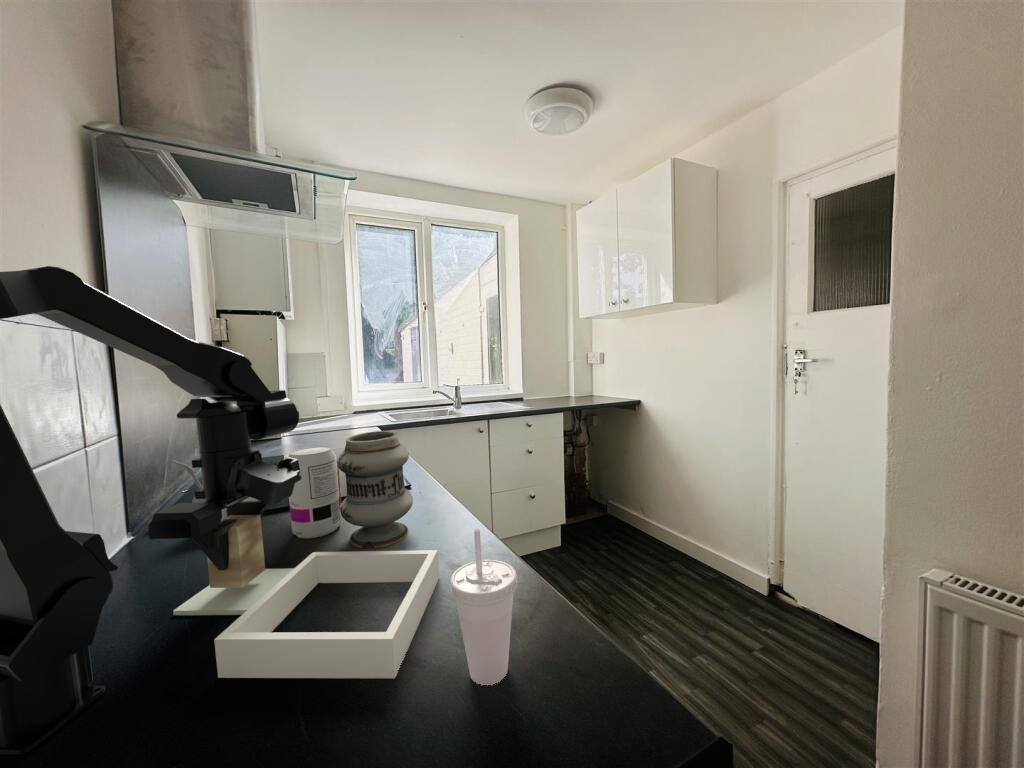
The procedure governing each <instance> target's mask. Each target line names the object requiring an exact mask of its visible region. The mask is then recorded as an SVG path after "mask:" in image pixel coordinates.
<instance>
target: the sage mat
mask: <svg viewBox="0 0 1024 768" xmlns="http://www.w3.org/2000/svg"><path fill="white" fill-rule="evenodd" d="M295 568H296V567H293V568H290V567H289V568H265V570H264V571H263V572H262V573H261V574H259V575H258V576H257V577H255V578H254V579H253V580H252V581H250V582H249V583H248V584H247V585H245V586H244V587H243V588H210V584H209V585H208V586H206V587H204V588H203V589H201V590H200V591H199V592H198V593H196V594H195V595H193V596H192V597H190V598H189V599H187V600H186V601H185V602H183V603H182V604H181V605H179V606H177V607H176V608H175V609H173V616H238V615H239V616H241V615H243V614H244V613H245V612H246V611H247V610H248V609H249V608H250V607H252V606H253V605H254V604H255V603H256V602H257V601H258V600H259V599H261V598H262V597H263V596H264V595H265V594H266V593H267V592H269V591H270V590H271V589H272V588H273V587H274V586H275V585H276V584H278V583H279V582H280V581H281V580H282V579H283V578H284V577H286V576H287V575H288V574H289V573H290V572H291V571H292V570H293V569H295Z"/></svg>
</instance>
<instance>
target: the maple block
mask: <svg viewBox="0 0 1024 768" xmlns="http://www.w3.org/2000/svg"><path fill="white" fill-rule="evenodd" d="M227 518H228V519H237V521H236V522H235V524H234V525H233V526H232V527H231V528H230V530H229V532H228V536H229V564H228V569H226V570H218V569H217V568H216V567H215V565H214V564H213V563H212V562H211V561H210V559H209V558H208V557H207V556H206V560H207V570H208V581H209V585H210V588H243V587H244V586H245V585H247V584H248V583H249V582H250V581H252V580H253V579H254V578H255V577H257V576H258V575H259V574H261V573H262V572H263V571H264V570H265V569H266V563H265V562H266V561H265V552H264V540H263V539H264V538H263V530H262V521H261V517H260V515H230V516H228V517H227Z"/></svg>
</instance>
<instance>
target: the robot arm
mask: <svg viewBox="0 0 1024 768" xmlns="http://www.w3.org/2000/svg"><path fill="white" fill-rule="evenodd" d="M27 315H28V316H29V315H37V316H41V318H45V319H47V320H49V321H51V322H54V323H56V324H59V325H60V326H63V327H64V328H65V327H66V328H68V329H70V330H72V331H74V332H76V333H78V334H81V335H83V336H86V337H88V338H90V339H92V340H95V341H96V342H100V343H102V344H104V345H106V346H107V347H110V348H113V349H115V350H117V351H119V352H121V353H124V354H126V355H129V356H130V357H133V358H135V359H138V360H139V361H142V362H145V363H147V364H149V365H151V366H153V367H155V368H156V369H159V370H160V371H162V373H164V375H165V376H166V377H167V378H168V380H169V381H170V382H171V383H173V384H174V385H176V387H177V386H178V388H180V389H181V390H184V391H185V392H186V393H188V394H190V395H192V396H194V397H198V398H191V399H190V400H189V403H188V404H187V405H185V407H183V408H182V409H181V410H180V411H179V412H178V413H177V414H176V418H177V419H180V420H182V419H184V420H185V419H186V420H187V419H190V420H191V419H193V420H194V419H195V420H196V421H195V422H196V430H197V432H196V434H197V441H198V451H199V453H198V454H199V457H197V458H194V459H191V468H192V469H194V468H195V469H196V468H197V469H200V471H201V481H202V482H201V483H202V484H201V485H202V487H203V488H202V489H197V490H195V491H194V497H195V499H205V501H206V502H199V503H192V502H178V503H176V504H174V505H171V506H169V507H166V508H164V509H161V510H159V511H157V512H155V513H153V515H152V516H151V517H150V518H149V519H148V520H147V527H148V528H147V530H148V536H149V537H148V538H149V540H163V539H165V540H166V539H167V540H168V539H169V540H170V539H190V540H191V541H193V543H195V544H196V546H197V547H198V548H199V549H200V550H201V551H202V552H203V553H204V554H205V556H206V558H207V557H208V558H209V559H210V561H211V562H212V563H213V564H214V565H215V567H216V568H217V569H218V570H226V569H228V564H229V536H228V532H229V530H230V528H231V527H232V526H233V525H234V524H235V522H236V521H237V519H228V518H227V509H228V508H229V510H230V513H231V515H260V517H261V522H262V520H263V517H264V514H265V512H266V510H267V509H268V508H269V507H270V506H273V505H277V504H279V503H281V501H282V500H284V499H286V498H289V497H290V496H291V495H292V492H293V489H294V485H295V483H296V482H298V481H300V480H301V475H300V467H299V462H298V459H295V458H292V457H289V456H288V457H285V458H283V459H281V460H280V461H279V462H278V463H276V462H274V461H273V462H271V463H266V462H264V461H263V459H262V453H261V452H260V450H259V449H256V450H254V449H253V450H252V441H251V440H254V441H258V440H263V439H267V438H271V437H274V436H278V435H279V436H280V435H283V434H288V433H291V432H292V431H294V430H295V429H296V428H297V426H298V424H299V421H300V412H299V410H298V408H297V406H296V405H295V403H294V401H292V400H291V399H289V398H288V397H287V391H286V390H285V389H283V390H282V389H281V390H280V389H279V390H269V388H268V387H267V386H266V384H265V383H264V382H263V380H262V378H260V377H259V375H258V374H257V373H256V371H255V370H254V369H253V367H252V365H253V363H252V362H251V361H250V359H249V358H248V357H247V356H245V355H244V354H241V353H239V352H236V351H233V350H230V349H228V348H225V347H222V346H219V345H215V344H214V345H213V344H209V343H204V342H201V341H200V342H199V341H196V340H194V339H190V338H188V337H187V336H184V335H182V334H181V333H179V332H177V331H176V330H173V329H172V328H170V327H168V326H165V325H164V324H162V323H160V322H159V321H157V320H155V319H153V318H151V317H149V316H148V315H145V314H144V313H143V312H140V311H138V310H137V309H135V308H133V307H131V306H129V305H127V304H125V303H123V302H121V301H119V300H118V299H116V298H114V297H112V296H110V295H109V294H106V293H105V292H103V291H101V290H100V289H98V288H95V287H93V286H92V285H90V284H88V283H87V282H85V281H83V279H82V278H81V277H80V276H78V275H76V274H75V273H74V272H73V271H69V270H67V269H64V268H62V267H60V266H52V265H47V266H42V267H35V268H28V269H21V270H20V269H19V270H12V271H11V270H9V271H0V320H3V319H8V318H9V319H10V318H14V317H15V318H16V317H22V316H27ZM207 398H209V399H210V400H213V401H215V402H210V401H208V400H207ZM235 403H236V404H235ZM222 501H225V502H222ZM118 568H119V566H117V565H116V564H114V563H113V561H111V559H110V558H109V557H108V554H107V550H106V545H105V541H104V539H103V538H102V536H101V535H100V533H93V532H91V533H90V532H89V533H88V532H81V531H71V530H65V528H63V527H62V526H61V525H60V523H59V521H58V520H57V517H56V515H55V513H54V511H53V509H52V506H51V505H50V503H49V501H48V499H47V497H46V494H45V493H44V490H43V489H42V487H41V484H40V483H39V481H38V478H37V476H36V474H35V473H34V470H33V468H32V467H31V464H30V462H29V460H28V458H27V456H26V453H25V452H24V450H23V448H22V446H21V443H20V441H19V439H18V438H17V436H16V433H15V431H14V429H13V427H12V425H11V424H10V421H9V419H8V417H7V415H6V413H5V411H4V409H3V407H2V405H1V404H0V755H18V756H19V755H23V754H26V753H29V752H31V750H33V749H35V748H36V747H37V746H38V745H40V744H41V743H42V742H43V741H45V739H47V738H49V737H50V736H51V735H52V734H53V733H55V732H56V731H57V730H59V729H60V728H61V727H62V726H64V725H65V724H66V723H68V722H69V721H70V720H71V719H73V718H75V716H77V715H78V714H79V713H80V712H82V711H83V710H84V709H85V708H87V707H88V706H89V705H91V704H92V703H94V702H95V701H96V700H97V699H98V698H100V697H101V696H103V694H105V692H106V686H105V685H91V684H92V683H93V681H94V679H93V677H94V676H93V670H92V668H93V667H92V660H91V653H90V646H91V645H92V644H93V643H94V640H95V636H96V632H97V629H98V626H99V621H100V618H101V614H102V611H103V608H104V606H105V605H106V603H107V601H108V598H110V597H109V596H110V595H112V593H113V592H114V587H115V586H114V585H115V584H114V580H113V575H112V574H111V572H114V571H117V570H118Z"/></svg>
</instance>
